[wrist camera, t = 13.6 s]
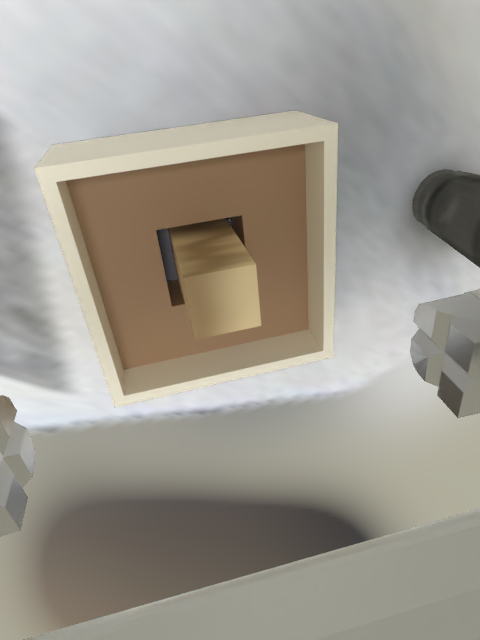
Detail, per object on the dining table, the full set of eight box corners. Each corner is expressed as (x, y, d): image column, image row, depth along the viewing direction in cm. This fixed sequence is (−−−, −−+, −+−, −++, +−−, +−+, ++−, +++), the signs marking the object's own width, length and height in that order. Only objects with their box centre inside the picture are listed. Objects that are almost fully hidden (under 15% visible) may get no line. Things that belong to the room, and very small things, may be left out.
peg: (220, 210, 32) (256, 264, 24) (226, 260, 34) (261, 325, 26) (166, 219, 32) (182, 278, 23) (175, 269, 34) (194, 340, 25)
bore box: (295, 110, 30) (338, 123, 24) (300, 311, 38) (333, 357, 32) (52, 144, 27) (34, 168, 22) (115, 350, 36) (115, 407, 30)
